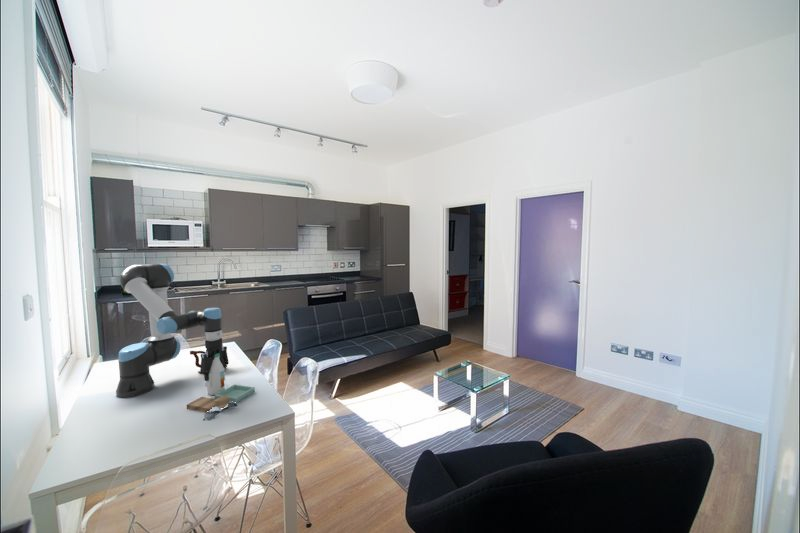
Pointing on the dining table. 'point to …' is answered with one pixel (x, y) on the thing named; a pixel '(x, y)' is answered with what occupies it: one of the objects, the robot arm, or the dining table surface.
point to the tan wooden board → (201, 404)
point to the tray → (236, 392)
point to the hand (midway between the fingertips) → (215, 382)
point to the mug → (197, 357)
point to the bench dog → (222, 401)
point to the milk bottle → (216, 376)
